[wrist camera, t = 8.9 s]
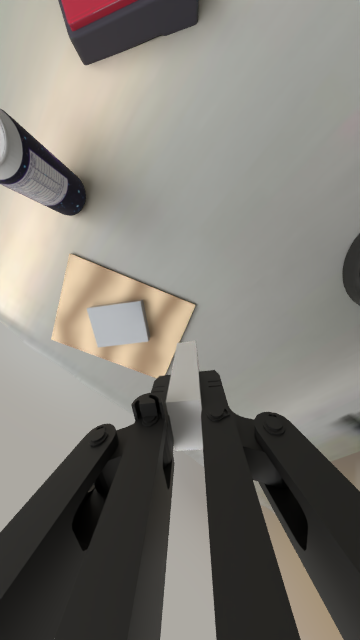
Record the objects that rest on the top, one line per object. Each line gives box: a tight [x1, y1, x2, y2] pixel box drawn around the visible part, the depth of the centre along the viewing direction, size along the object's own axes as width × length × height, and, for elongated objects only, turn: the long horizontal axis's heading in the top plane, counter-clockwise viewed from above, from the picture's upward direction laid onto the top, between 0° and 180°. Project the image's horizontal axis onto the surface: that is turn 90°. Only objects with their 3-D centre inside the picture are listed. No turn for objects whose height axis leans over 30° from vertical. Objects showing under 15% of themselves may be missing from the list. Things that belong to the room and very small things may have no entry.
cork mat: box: [51, 254, 195, 378], centre depth 30 cm, size 22×16×1 cm
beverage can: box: [0, 109, 86, 215], centre depth 20 cm, size 6×6×12 cm
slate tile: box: [87, 300, 150, 347], centre depth 29 cm, size 2×7×9 cm
